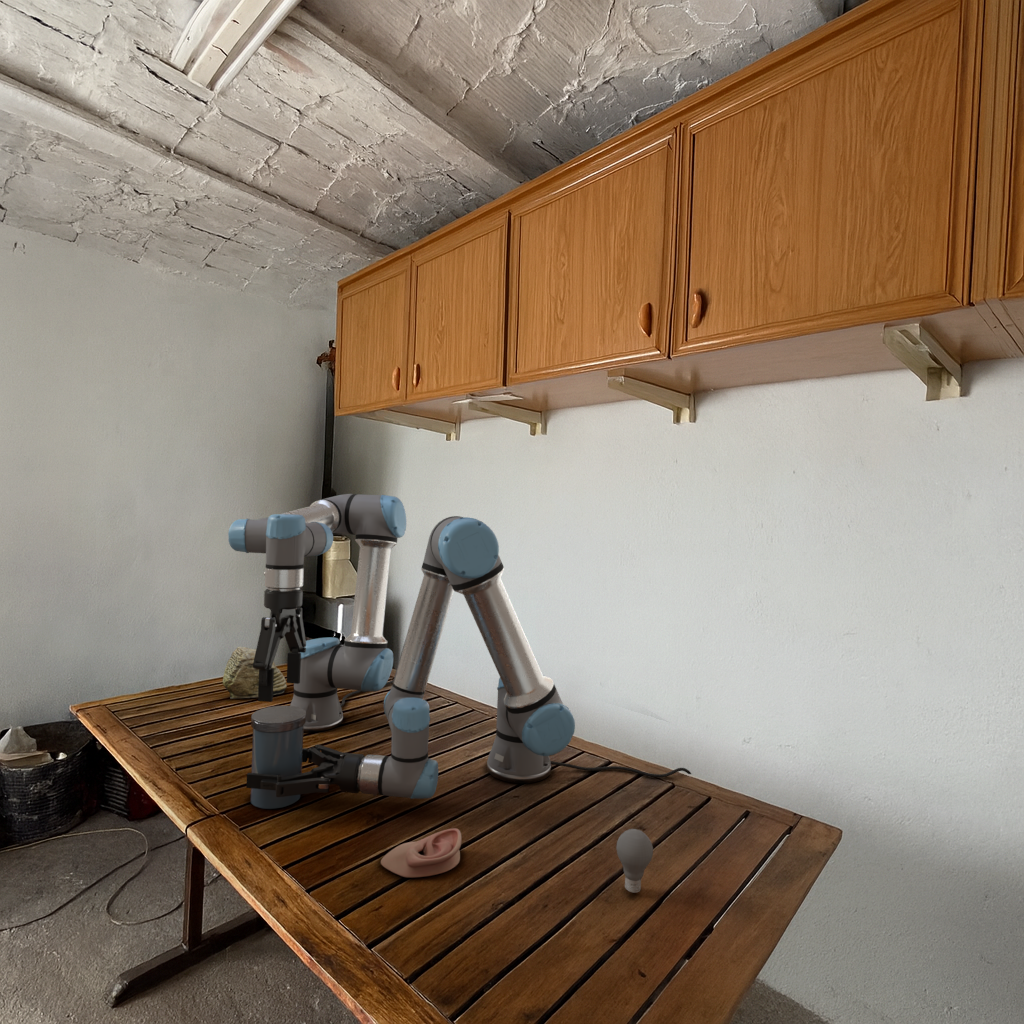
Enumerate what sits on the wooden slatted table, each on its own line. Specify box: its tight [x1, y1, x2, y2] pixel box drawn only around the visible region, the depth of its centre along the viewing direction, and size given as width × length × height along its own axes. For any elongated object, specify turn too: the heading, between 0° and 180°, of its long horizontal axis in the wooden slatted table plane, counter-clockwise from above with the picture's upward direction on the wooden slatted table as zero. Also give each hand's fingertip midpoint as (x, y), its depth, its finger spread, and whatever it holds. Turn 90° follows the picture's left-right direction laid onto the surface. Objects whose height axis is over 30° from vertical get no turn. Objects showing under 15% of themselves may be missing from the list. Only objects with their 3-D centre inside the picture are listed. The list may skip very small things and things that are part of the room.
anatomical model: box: [380, 827, 462, 879], centre depth 112 cm, size 13×4×12 cm
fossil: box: [222, 646, 288, 699], centre depth 198 cm, size 9×18×15 cm, turn 132°
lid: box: [250, 705, 306, 732], centre depth 132 cm, size 11×11×2 cm
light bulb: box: [615, 828, 654, 894], centre depth 106 cm, size 6×6×10 cm
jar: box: [250, 725, 304, 810], centre depth 133 cm, size 10×10×17 cm
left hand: (280, 691), depth 132 cm, fingers open, 12 cm apart
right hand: (263, 766), depth 133 cm, fingers open, 13 cm apart
